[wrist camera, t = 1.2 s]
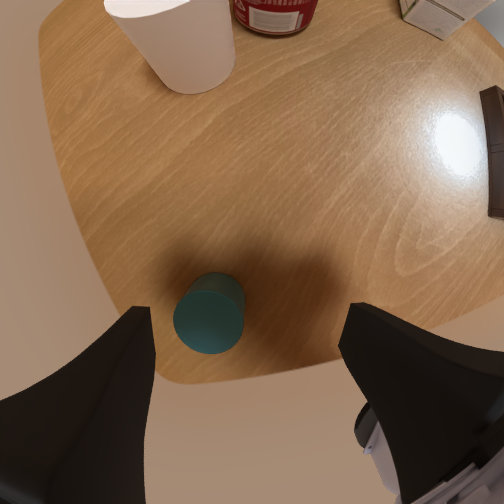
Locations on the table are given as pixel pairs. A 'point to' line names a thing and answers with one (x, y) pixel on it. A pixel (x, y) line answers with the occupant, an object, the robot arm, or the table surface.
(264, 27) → the soda can
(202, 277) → the teal cylinder
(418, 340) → the robot arm
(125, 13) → the candle
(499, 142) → the grid
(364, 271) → the table surface
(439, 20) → the syrup box
